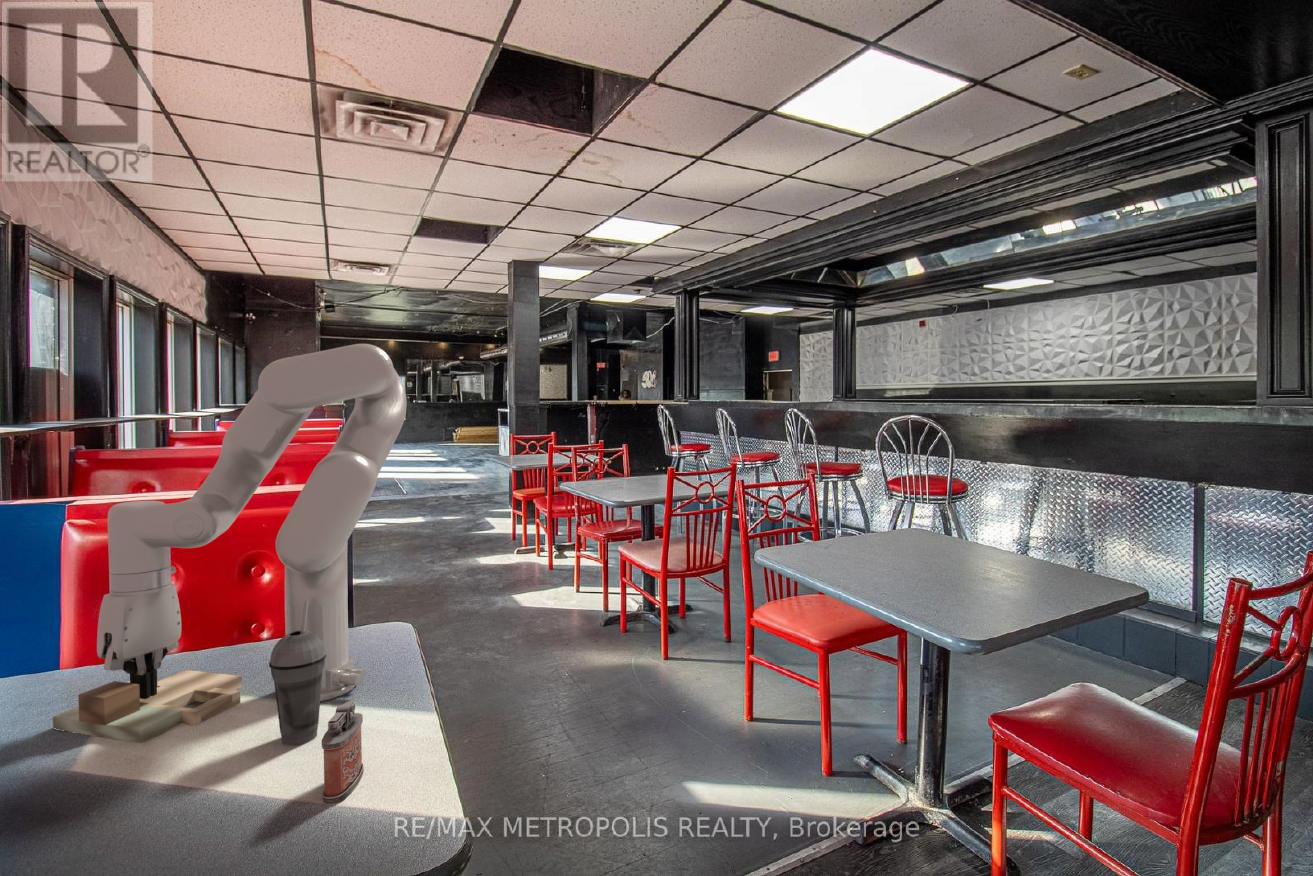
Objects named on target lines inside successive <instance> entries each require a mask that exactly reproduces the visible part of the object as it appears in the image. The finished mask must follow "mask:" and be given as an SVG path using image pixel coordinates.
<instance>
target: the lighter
mask: <svg viewBox="0 0 1313 876" xmlns="http://www.w3.org/2000/svg"><path fill="white" fill-rule="evenodd" d="M355 710H356V701H354V700H352V701H351V700H349V701H346V702H345V703H343V705H338V706H337V707H336V709H335V712H334V715H333V716H332V717H331V718H330V719H329V720H328V722H327V730H326V731H325V733H324V735H323V737H322V739H321V749H323V784H324V785H323V792H322V804H324V805H328V806H330V805H331V806H332V805H336V804H337V805H338V804H340V803H343V802H344V801H345V800H346V799H347V798H348V797H349V796H350V795H352V793H353V792H354V790H355V789H356V788H357V787H358V786H359V784H360V781H361V780H362V778H363V774H364V773H365V772H364V771H365V769H364V765H365V764H364V763H363V755H362V754H363V753H362V750H363V749H362V745H363V744H362V724H363V721H364V718H363V716H364V715H363V714H362V713H361V712H360V713H359V712H355Z"/></svg>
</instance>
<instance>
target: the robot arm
mask: <svg viewBox="0 0 1313 876" xmlns="http://www.w3.org/2000/svg"><path fill="white" fill-rule="evenodd" d="M257 383H258V384H257V387H258V389H257V390H256V391H255V393H254V394H253V395H252V398H251V399H250V400H249V401H248V402H247V404H246V406H245V407H244V408H243V409H242V411H241V412H240V413H239V415H238V416H237V418H236V419H235V420H234V422H233V423H231V425H230V427H229V428H228V429H227V431H226V432H225V434H224V436H223V439H222V444H221V452H220V454H219V457H218V459H217V461H216V463H215V464H214V466H213V468H212V469H211V471H210V473H209V474H208V475H207V477H206V478H205V480H204V481H203V483H202V484H201V485H200V486H199V487H198V489H197V490H196V492H195V493H194V494H193V496H192V497H190V498H189V499H186V500H184V501H183V500H181V501H180V502H172V503H165V502H164V501H159V500H136V501H125V502H120V503H116V504H114V505H112V506H111V507H110V508H109V509H108V512H107V540H108V541H107V543H108V544H107V545H108V572H109V574H108V576H109V577H108V579H109V581H108V582H109V593H107V594H104V595H103V598H102V600H101V605H100V609H99V615H98V622H97V636H96V637H97V638H96V653H97V654H96V655H97V657H98V658H99V659H105V660H104V664H103V669H104V670H105V671H109V672H110V671H113V672H114V671H121V670H122V671H124V672H125V674H128V675H129V681H130V683H133V684H139V690H140V699H147V698H150V696H154V695H156V694H157V681H158V670H159V669H160V668H161V666H162V662H163V660H164V658H165V657H166V656H167V654H168V653H171V652H172V651H174V650H175V649H176V648H178V647H179V644H180V643H179V639H180V638H181V636H182V616H181V607H180V602H179V601H180V600H179V597H178V592H177V588H176V586H175V583H173V582H172V575H174V574H176V572H177V569H176V567H175V566H174V565H172V563H171V562H172V561H171V557H172V555H171V548H180V549H195V548H201V547H203V546H206V545H208V544H209V543H211V542H213V541H214V540H216V539H217V538H218V537H219V536H221V535H222V534H224V533H225V532H226V531H227V530H229V528H230V527H231V526H232V524H233V523H234V522H235V521H236V520H237V518H238V516H239V515H240V514H241V512H242V511H243V510H244V509H245V507H246V505H247V504H248V503H249V501H250V500H251V498H252V497H253V495H255V492H256V491H257V490H258V488H259V486H260V485H261V483H262V482H264V481H263V480H264V479H265V478H266V476H267V475H268V474H269V473H270V472H271V470H272V469H273V468H274V467H275V464H276V463H277V461H278V460H279V459H280V457H281V455H282V454H283V453H284V451H285V450H286V448H287V447H288V446H289V444H290V442H291V441H292V440H293V438H295V437H294V436H296V434H297V433H298V431H299V430H300V428H301V427H302V426H303V424H304V423H305V422H306V420H307V419H308V418H309V416H310V415H311V414H312V412H313V411H314V410H315V408H316V407H321V406H327V405H331V404H335V403H340V402H344V401H348V400H353V399H354V400H355V401H354V402H355V403H354V408H353V410H352V412H351V413H350V416H349V417H348V419H347V421H346V423H345V424H344V426H343V428H342V430H341V432H340V434H339V436H338V438H336V439H337V440H336V441H335V443H334V445H333V447H332V448H331V450H330V451H329V452H328V454H327V455H326V456H324V457H323V458H322V459H321V460H320V461H319V462H318V463H317V464H316V466H315V467H314V468H313V471H312V472H311V474H310V475H309V477H308V478H307V481H306V482H305V484H304V485H303V488H302V490H301V491H300V493H299V495H298V497H297V498H296V500H295V502H294V504H293V506H291V509H290V511H289V513H288V514H287V516H286V518H285V519H284V521H283V523H282V525H281V527H280V528H279V530H278V532H277V534H276V535H277V536H276V538H275V551H276V554H277V555H276V556H278V559H279V560H280V562H281V563H282V564H283V565H284V618H285V619H284V623H285V635H287V634H289V633H291V632H294V631H301V625H302V617H303V608H304V601H308V608H307V616H306V625H305V631H308V632H311V633H313V634H315V635H316V636H317V637H319V639H320V640H321V642H322V644H323V646H324V650H325V654H326V657H325V664H324V669H323V671H322V683H321V696H320V702H325V701H328V700H331V699H335V698H338V697H340V696H344V695H345V694H347V693H349V692H350V690H351V691H352V690H353V689H355V688H356V687H360V686H361V685H362V683H363V681H364V678H365V677H366V676H367V670H366V669H362V668H355V659H354V658H349V653H350V652H349V610H348V608H349V607H348V606H349V605H348V602H349V601H348V597H349V596H348V595H349V594H348V588H349V587H348V540H349V539H350V536H351V535H352V533H353V531H354V529H355V528H356V526H357V524H358V522H359V521H360V519H361V517H362V516H363V515H362V514H363V513H364V511H365V509H366V508H367V505H368V503H369V502H370V500H371V498H372V496H373V494H374V491H375V488H376V485H377V480H378V476H379V474H380V472H381V470H382V469H383V466H384V464H385V462H386V461H387V458H388V456H389V454H390V453H391V450H392V448H393V446H394V444H395V442H396V440H397V438H398V436H399V434H400V432H401V429H402V427H403V425H404V421H405V418H406V414H407V394H406V393H407V392H406V390H405V386H404V383H403V382H402V379H401V377H400V376H399V374H398V372H397V370H396V369H395V368H394V364H393V361H392V359H391V358H390V356H389V354H388V353H387V352H385V350H383V349H382V348H381V347H378V346H376V345H373V344H371V343H355V344H350V345H345V346H340V347H335V348H329V349H326V350H325V349H324V350H320V351H315V352H310V353H305V354H304V353H303V354H301V355H300V354H299V355H294V356H290V357H289V356H288V357H284V358H280V359H277V360H275V361H272V362H271V363H269V364H268V365H266V366H265V367H264V368H263V369H262V371H261V372H260V375H259V377H258V382H257ZM355 686H356V687H355ZM354 687H355V688H354ZM348 691H349V692H348ZM337 696H338V697H337Z"/></svg>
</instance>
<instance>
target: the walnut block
mask: <svg viewBox="0 0 1313 876" xmlns="http://www.w3.org/2000/svg"><path fill="white" fill-rule="evenodd" d="M125 682H126V681H125ZM125 682H124V681H115V680H113V681H111V682H108V683H106V684H103V685H100V686H97V687H95V688H93V689H90V690H86V691H85V692H81V693H79V694H78V700H77V701H78V707H79V721H80V722H86V723H93V724H100V725H107V724H109V723H111V722H114V721H116V720H118V719H121V718H123V717H125V716H128V715H130V714H132V713H134V712H137V711H139V710H140V690H139V684H133V683H125Z"/></svg>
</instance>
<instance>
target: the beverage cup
mask: <svg viewBox="0 0 1313 876" xmlns="http://www.w3.org/2000/svg"><path fill="white" fill-rule="evenodd" d="M307 608H308V601H304V608H303V617H302V625H301V631H294V632H291V633H289V634H287V635H286V634H285V635H283V636H282V637H281V638H280V639H279V640H278V641H277V642H276V643H275V645H274V647H273V649H272V651H271V654H270V660H269V663H268V666H269V668H270V673H271V677H272V680H273V682H274V683H273V684H274V691H275V700H276V708H277V716H278V723H279V733H280V736H281V743H282V744H283V745H284V746H300V745H304V744H306V743H308V742H312V741H313V740H314V739H316V737H317V736H318V728H319V721H320V710H321V709H320V707H321V701H320V696H321V683H322V671H323V669H324V664H325V657H326V654H325V650H324V646H323V644H322V642H321V640H320V639H319V637H317V636H316V635H315V634H313V633H311V632H308V631H305V625H306V616H307Z"/></svg>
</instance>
